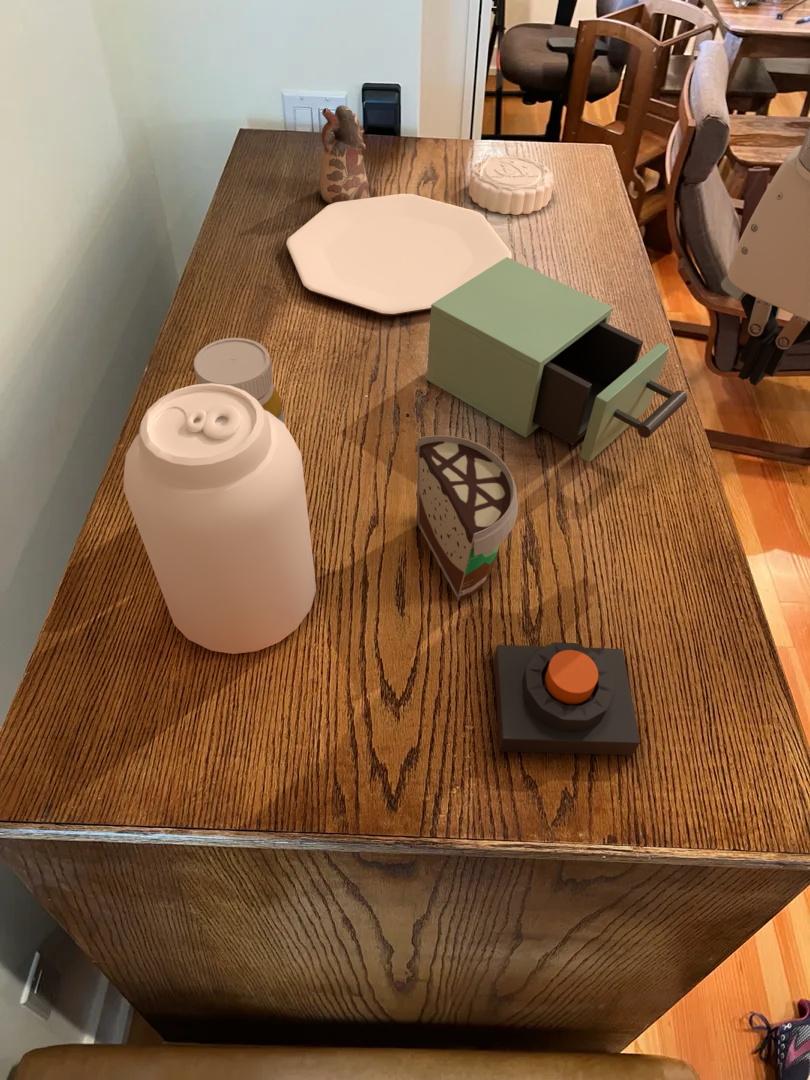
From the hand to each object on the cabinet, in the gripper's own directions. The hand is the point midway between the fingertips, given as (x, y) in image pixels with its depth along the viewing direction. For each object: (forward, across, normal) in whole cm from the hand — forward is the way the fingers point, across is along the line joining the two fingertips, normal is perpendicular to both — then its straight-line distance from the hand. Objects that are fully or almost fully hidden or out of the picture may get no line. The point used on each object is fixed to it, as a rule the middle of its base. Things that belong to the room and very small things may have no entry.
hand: (754, 373), depth 65 cm
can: (+14, +22, +39) cm, 47 cm away
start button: (+10, -4, +29) cm, 31 cm away
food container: (+14, +11, +22) cm, 29 cm away
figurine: (+15, +66, -17) cm, 70 cm away
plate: (+15, +49, -10) cm, 52 cm away
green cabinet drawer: (+13, +14, 0) cm, 19 cm away
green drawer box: (+14, +23, 0) cm, 27 cm away
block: (+14, -4, +29) cm, 32 cm away
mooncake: (+15, +49, -34) cm, 62 cm away
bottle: (+15, +31, +30) cm, 46 cm away
